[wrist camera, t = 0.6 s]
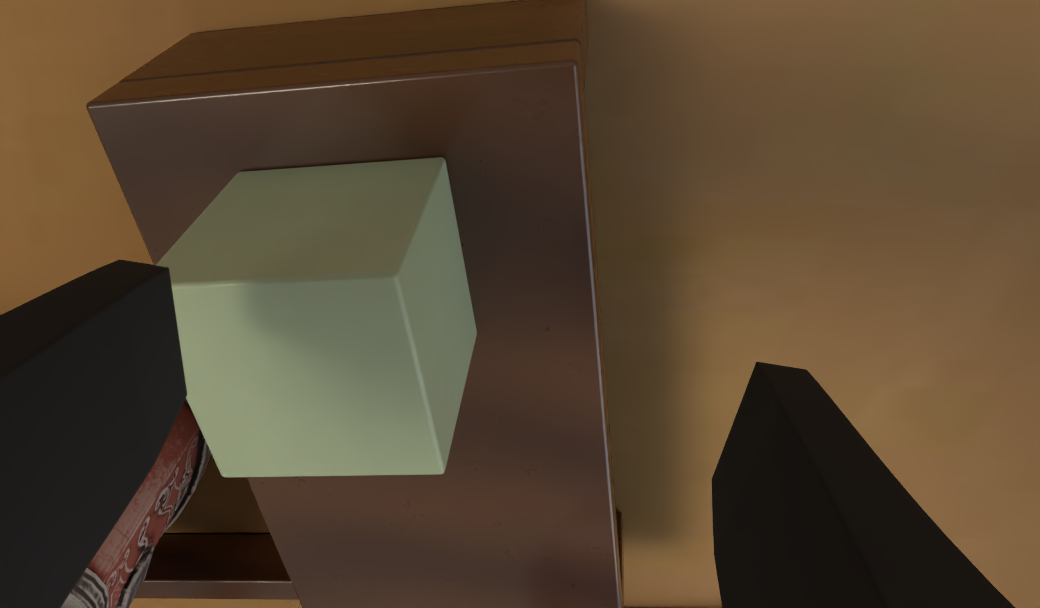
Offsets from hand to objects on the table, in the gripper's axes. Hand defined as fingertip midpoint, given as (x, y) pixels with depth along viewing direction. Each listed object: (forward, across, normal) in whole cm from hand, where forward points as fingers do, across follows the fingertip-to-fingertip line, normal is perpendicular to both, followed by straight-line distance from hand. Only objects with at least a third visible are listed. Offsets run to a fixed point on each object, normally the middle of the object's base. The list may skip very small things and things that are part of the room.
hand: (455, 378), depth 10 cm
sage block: (+6, +3, +2) cm, 7 cm away
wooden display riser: (+10, +7, +9) cm, 15 cm away
